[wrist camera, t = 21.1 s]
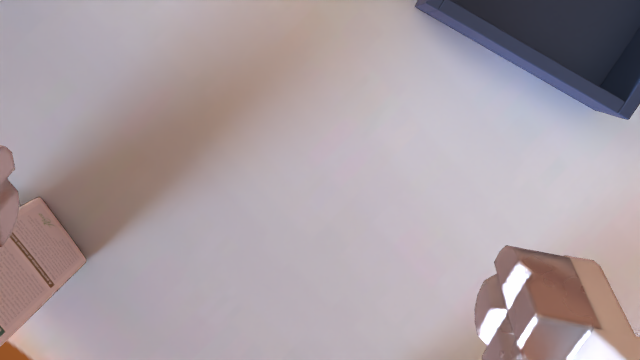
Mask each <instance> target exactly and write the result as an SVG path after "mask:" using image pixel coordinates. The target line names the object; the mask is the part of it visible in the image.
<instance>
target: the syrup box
mask: <svg viewBox="0 0 640 360" xmlns="http://www.w3.org/2000/svg"><path fill="white" fill-rule="evenodd" d="M85 263H86V259H85V257H84V256H83V254H82V253H81V251H80V250H79V248H78V247H77V246H76V244H75V243H74V241H73V240H72V239H71V237H70V236H69V235H68V233H67V232H66V231H65V229H64V228H63V227H62V225H61V224H60V223H59V221H58V220H57V219H56V217H55V216H54V215H53V213H52V212H51V211H50V209H49V208H48V207H47V205H46V204H45V203H44V201H43V200H42V199H41V198H40V197H39V198H36V199H33V200H31V201H30V202H28V203H26V204H24V205H22V206H20V207H19V213H18V219H17V221H16V224H15V227H14V229H13V232H12V234H11V235H10V237H9V238H8V240H7V241H6V242H5V244H4V245H3V246H2V247H0V346H1V345H3V344H4V343H5V342H6V341H7V340H8V339H9V338H10V337H11V336H12V335H13V334H14V333H15V332H16V331H17V330H18V329H19V328H20V327H21V326H22V325H23V324H24V323H25V322H26V321H27V320H28V319H29V318H30V317H31V316H32V315H33V314H34V313H35V312H36V311H37V310H39V309H40V307H41V306H42V305H43V304H44V303H45V302H46V301H48V299H49V298H51V297H52V296H53V294H54V293H55V292H57V291H58V290H59V289H60V288H61V287H62V286H63V285H64V284H65V283H66V282H67V281H68V280H69V279H70V278H71V277H72V276H73V275H74V274H75V273H76V272H77V271H78V270H79V269H80V268H81V267H82V266H83V265H84V264H85Z"/></svg>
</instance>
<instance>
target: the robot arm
mask: <svg viewBox="0 0 640 360" xmlns="http://www.w3.org/2000/svg"><path fill="white" fill-rule="evenodd" d="M14 170H15V166H14V161H13V155H12V152H11V151H10V150H9V149H8V148H7V147H5V146H2V145H0V247H2V246H3V245H4V244H5V242H6V241H7V240H8V238H9V237H10V235H11V234H12V232H13V229H14V227H15V224H16V221H17V219H18V213H19V196H18V191H17V190H16V188H15V187H14V186H13V185H12V184H11V183H10V181H9V180H8V179H7V178H8V176H9V175H10V174H11V173H12V172H13V171H14ZM494 264H495V268H496V271H497V274H495V275H493V276H492V277H490V278H488V279H486V280H485V281H484V282H483V284H482V286H481V288H480V291H479V293H478V295H477V300H476V305H475V325H476V331H477V335H478V336H479V337H480V338H481V339H482V340H483V341H484V342H485V343H486V345H487V348H486V350H485V352H484V353H483V355H482V359H483V360H640V337H637V336H635V334H634V332H633V330H632V328H631V326H630V324H629V322H628V320H627V318H626V316H625V314H624V312H623V310H622V308H621V306H620V304H619V302H618V300H617V298H616V296H615V294H614V292H613V290H612V288H611V286H610V284H609V282H608V281H607V279H606V277H605V275H604V273H603V271H602V269H601V267H600V265H598V264H597V263H596V262H595V261H594V260H588V259H583V258H577V257H571V256H560V255H554V254H549V253H544V252H539V251H534V250H528V249H523V248H518V247H513V246H508V245H506V246H505V247H504V248H503V249H502V250H501V251H500V252H499V254H498V256H497V258H496V259H495V261H494Z"/></svg>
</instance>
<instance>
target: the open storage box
mask: <svg viewBox="0 0 640 360" xmlns="http://www.w3.org/2000/svg"><path fill="white" fill-rule="evenodd" d="M415 7H416V8H418V9H420V10H421V11H423V12H425V13H427V14H428V15H430V16H432V17H434V18H435V19H437V20H439V21H440V22H442V23H444V24H446V25H447V26H449V27H451V28H453V29H454V30H456V31H458V32H460V33H461V34H463V35H465V36H467V37H468V38H470V39H472V40H474V41H475V42H477V43H479V44H480V45H482V46H484V47H486V48H487V49H489V50H491V51H493V52H494V53H496V54H498V55H500V56H501V57H503V58H505V59H507V60H508V61H510V62H512V63H513V64H515V65H517V66H519V67H520V68H522V69H524V70H526V71H527V72H529V73H531V74H533V75H534V76H536V77H538V78H540V79H541V80H543V81H545V82H547V83H548V84H550V85H552V86H553V87H555V88H557V89H559V90H560V91H562V92H564V93H566V94H567V95H569V96H571V97H573V98H574V99H576V100H578V101H580V102H581V103H583V104H585V105H587V106H588V107H590V108H592V109H593V110H595V111H599V112H603V113H606V114H610V115H613V116H617V117H620V118H623V119H627V120H629V119H630V117H631V116H632V114H633V113H634V111H635V110H636V108H637V107H638V106H639V104H640V0H418V2H417V3H416V5H415Z"/></svg>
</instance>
